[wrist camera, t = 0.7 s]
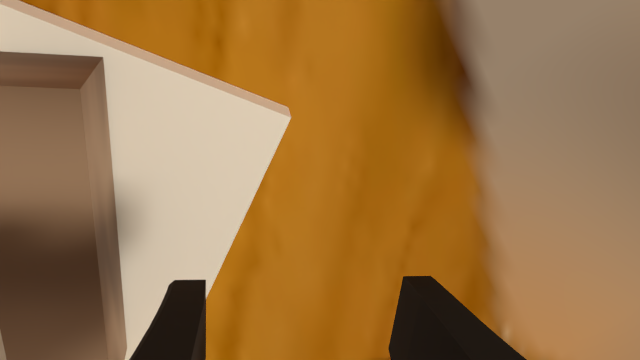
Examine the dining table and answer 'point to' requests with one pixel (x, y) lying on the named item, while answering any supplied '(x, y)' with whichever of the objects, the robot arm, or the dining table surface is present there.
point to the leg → (58, 212)
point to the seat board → (164, 157)
